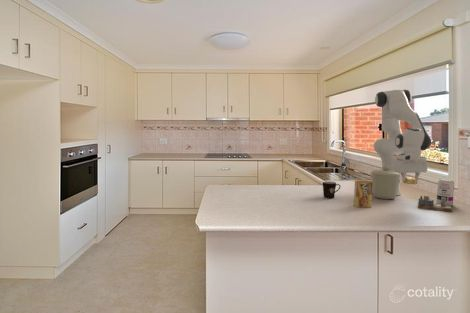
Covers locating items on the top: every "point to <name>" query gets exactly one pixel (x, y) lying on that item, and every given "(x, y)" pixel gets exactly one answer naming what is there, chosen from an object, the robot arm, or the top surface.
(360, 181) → the candy box
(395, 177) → the canister
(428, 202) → the gear
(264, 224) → the top surface
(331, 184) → the coffee mug
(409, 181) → the brass gear
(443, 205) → the gear board
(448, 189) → the supplement can
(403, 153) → the robot arm
